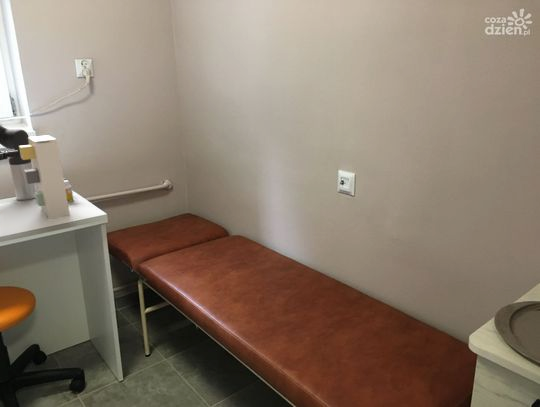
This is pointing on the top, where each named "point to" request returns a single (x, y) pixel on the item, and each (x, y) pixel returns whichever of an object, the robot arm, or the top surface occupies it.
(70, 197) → the supplement bottle
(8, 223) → the top surface
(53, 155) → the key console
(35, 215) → the top surface
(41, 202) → the sage key
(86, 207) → the top surface
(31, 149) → the tan square block
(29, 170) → the charcoal key
